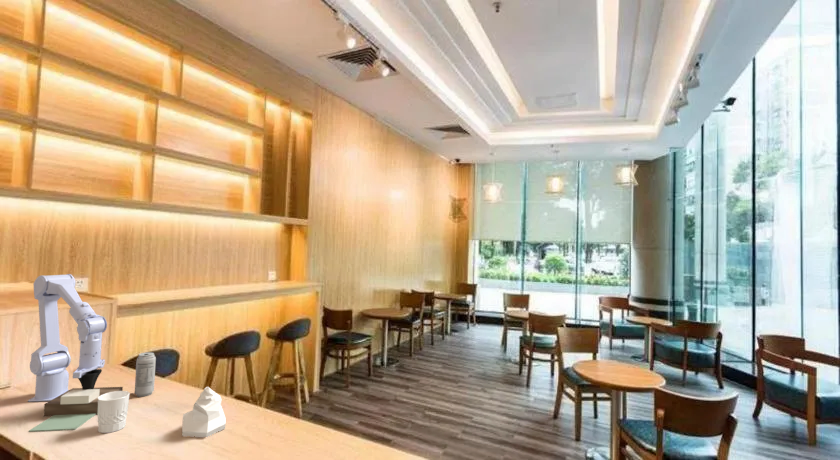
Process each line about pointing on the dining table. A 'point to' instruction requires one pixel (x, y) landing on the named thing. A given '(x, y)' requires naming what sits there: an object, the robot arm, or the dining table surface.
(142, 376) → the energy drink can
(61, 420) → the mat
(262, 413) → the dining table surface
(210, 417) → the white faceted lump
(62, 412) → the brown flat block
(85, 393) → the tile
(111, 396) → the white cup
